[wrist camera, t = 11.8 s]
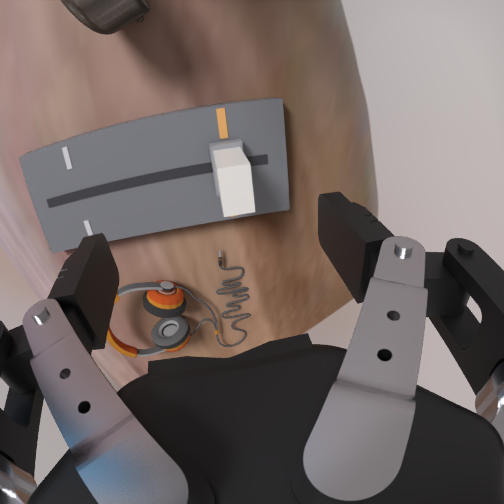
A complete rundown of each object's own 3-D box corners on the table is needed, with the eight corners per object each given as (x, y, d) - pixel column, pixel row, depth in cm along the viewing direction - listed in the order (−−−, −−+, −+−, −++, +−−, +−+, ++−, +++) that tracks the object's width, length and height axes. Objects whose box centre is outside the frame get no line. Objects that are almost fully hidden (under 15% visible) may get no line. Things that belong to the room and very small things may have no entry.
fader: (209, 143, 28) (212, 163, 22) (240, 138, 29) (252, 157, 23) (216, 191, 31) (221, 223, 25) (245, 187, 31) (259, 217, 25)
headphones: (257, 353, 45) (122, 386, 38) (243, 329, 49) (118, 358, 42) (261, 255, 36) (83, 290, 29) (244, 234, 40) (85, 264, 33)
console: (27, 153, 27) (18, 158, 25) (277, 97, 29) (282, 98, 27) (57, 244, 33) (51, 253, 31) (284, 202, 36) (289, 210, 34)
